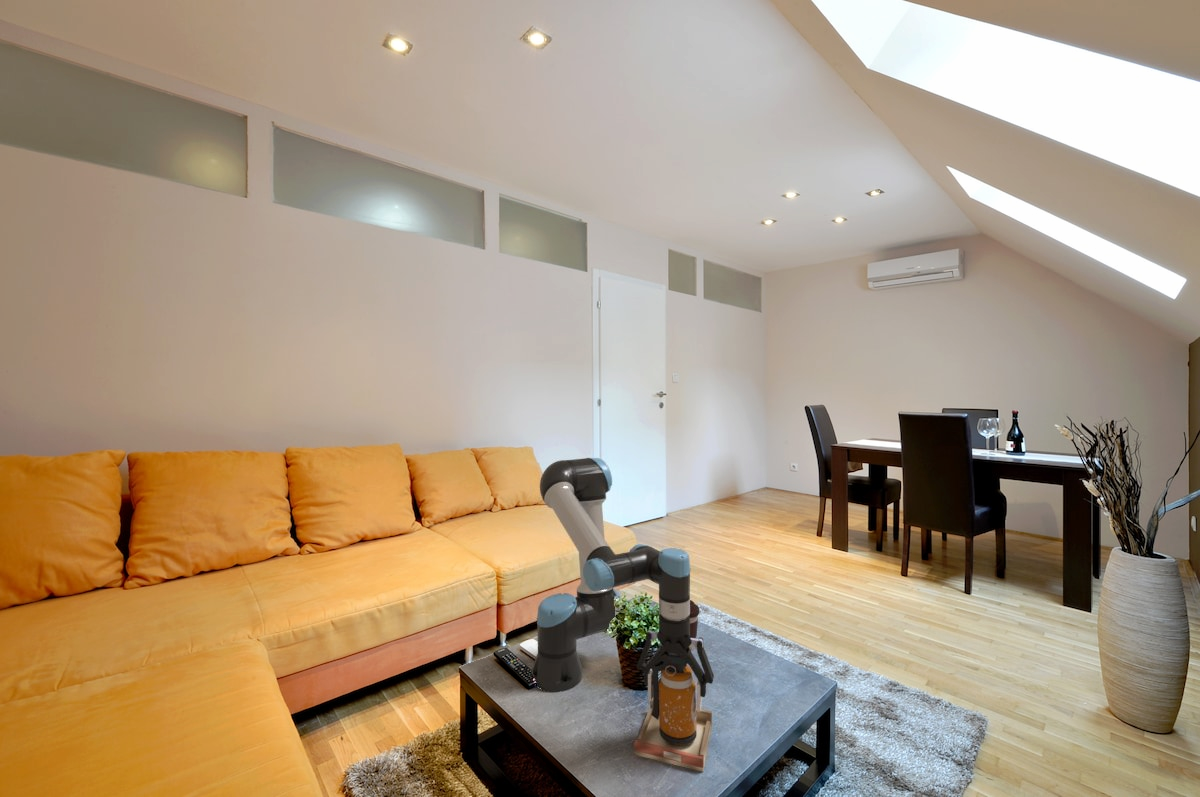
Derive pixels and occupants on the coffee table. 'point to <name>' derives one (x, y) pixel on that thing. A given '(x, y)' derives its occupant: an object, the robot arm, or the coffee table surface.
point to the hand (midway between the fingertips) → (674, 703)
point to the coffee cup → (693, 621)
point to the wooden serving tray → (680, 755)
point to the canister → (674, 699)
